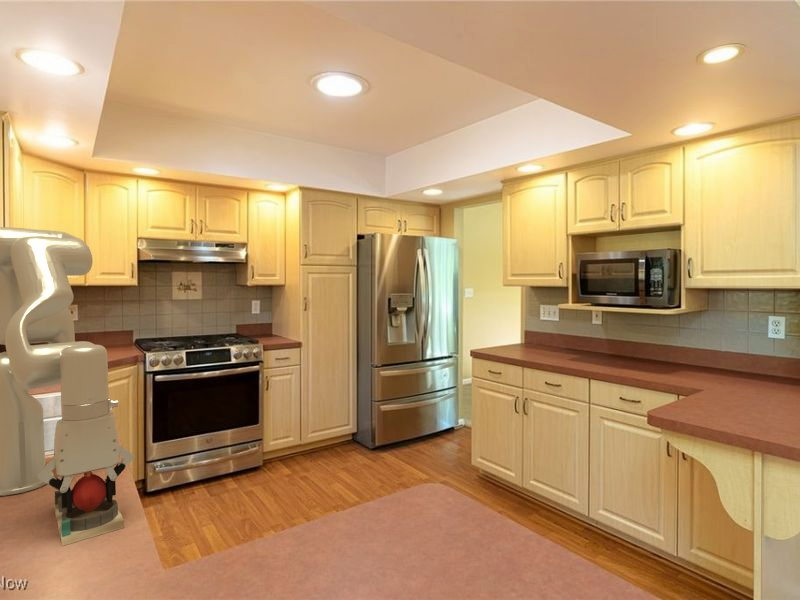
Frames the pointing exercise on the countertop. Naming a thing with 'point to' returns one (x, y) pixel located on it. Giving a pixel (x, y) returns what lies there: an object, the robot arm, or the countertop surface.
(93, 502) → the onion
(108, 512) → the cream flat ringed piece
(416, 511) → the countertop surface
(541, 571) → the countertop surface
